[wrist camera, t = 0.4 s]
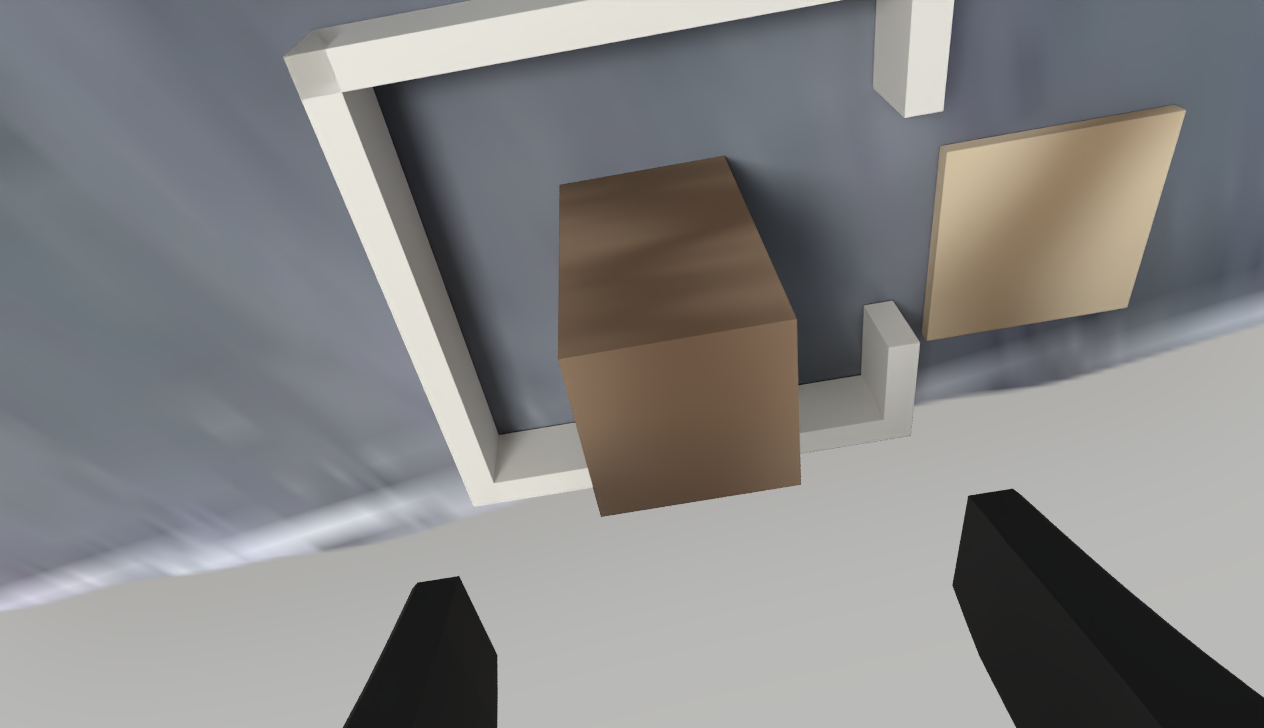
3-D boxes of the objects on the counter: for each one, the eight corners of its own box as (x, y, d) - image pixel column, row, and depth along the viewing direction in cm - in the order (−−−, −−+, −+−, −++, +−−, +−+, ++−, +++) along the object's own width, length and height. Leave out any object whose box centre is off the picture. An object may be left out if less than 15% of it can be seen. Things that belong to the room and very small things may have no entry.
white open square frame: (919, -84, 15) (961, -70, 13) (886, 391, 23) (911, 435, 21) (312, 30, 16) (283, 57, 14) (480, 457, 23) (474, 506, 22)
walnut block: (724, 155, 18) (796, 319, 12) (735, 295, 20) (801, 484, 15) (559, 184, 18) (558, 359, 12) (590, 320, 20) (601, 516, 15)
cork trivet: (1175, 104, 18) (1185, 110, 18) (1118, 299, 21) (1126, 307, 21) (940, 145, 18) (947, 152, 18) (921, 332, 21) (926, 340, 21)
